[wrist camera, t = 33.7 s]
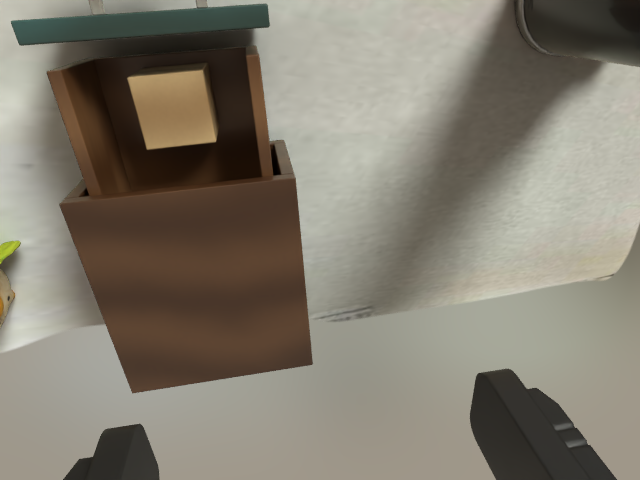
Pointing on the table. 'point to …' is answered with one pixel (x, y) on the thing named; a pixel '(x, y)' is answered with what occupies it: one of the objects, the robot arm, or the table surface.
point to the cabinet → (198, 276)
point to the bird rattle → (6, 280)
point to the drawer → (119, 110)
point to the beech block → (175, 105)
